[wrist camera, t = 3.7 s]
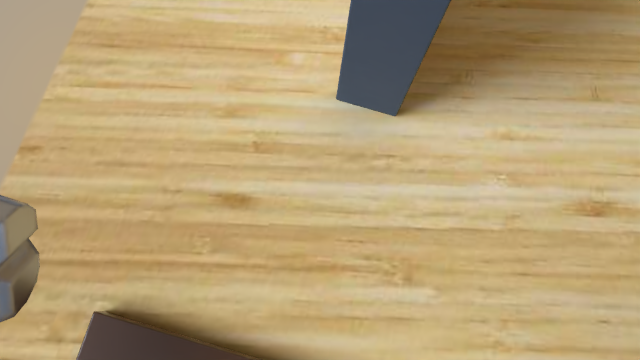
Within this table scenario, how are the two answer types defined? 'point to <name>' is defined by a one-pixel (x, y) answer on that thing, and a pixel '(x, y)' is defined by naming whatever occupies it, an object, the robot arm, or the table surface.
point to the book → (385, 50)
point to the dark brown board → (145, 342)
